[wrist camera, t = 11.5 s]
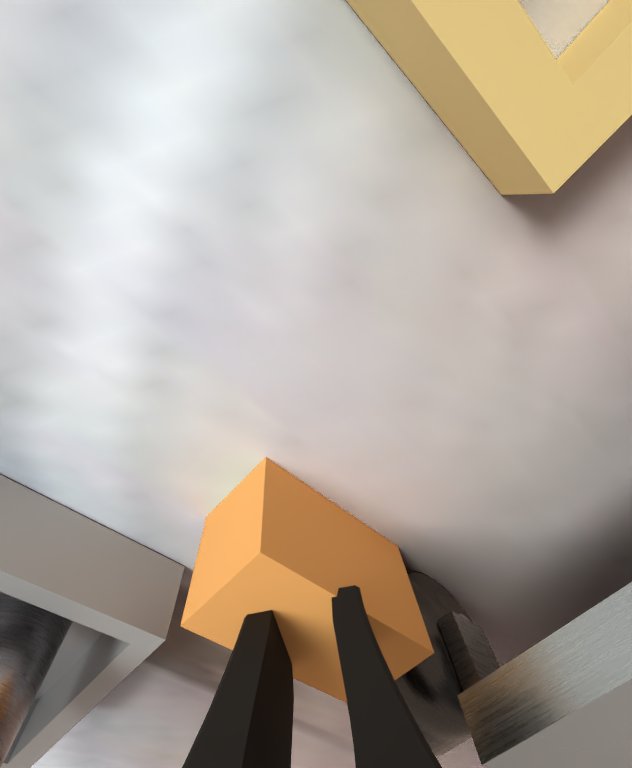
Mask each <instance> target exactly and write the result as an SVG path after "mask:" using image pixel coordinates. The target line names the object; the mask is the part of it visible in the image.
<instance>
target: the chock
mask: <svg viewBox="0 0 632 768" xmlns="http://www.w3.org/2000/svg"><path fill="white" fill-rule="evenodd" d="M353 585H356V586H357V587H359V588H360V591H361V595H362V600H363V604H364V607H365V610H366V614H367V617H368V619H369V622H370V625H371V628H372V630H373V633H374V635H375V638H376V640H377V643H378V645H379V647H380V650H381V652H382V654H383V656H384V659H385V661H386V663H387V665H388V667H389V669H390V671H391V674H392V676H393V678H394V680H396V679H398V678H399V677H401V676H402V675H403V674H405V673H406V672H408V671H409V670H410V669H412V668H413V667H415V666H416V665H418V664H419V663H420V662H422V661H423V660H425V659H426V658H428V657H429V656H430V655H432V654H433V653H434V650H433V647H432V644H431V641H430V639H429V636H428V633H427V630H426V627H425V624H424V621H423V618H422V615H421V612H420V609H419V606H418V604H417V601H416V598H415V595H414V592H413V589H412V586H411V583H410V580H409V577H408V574H407V571H406V569H405V566H404V563H403V560H402V557H401V554H400V551H399V548H398V546H397V545H395V544H394V543H392V542H391V541H389V540H388V539H386V538H385V537H383V536H382V535H380V534H379V533H377V532H376V531H374V530H373V529H372V528H370V527H369V526H367V525H366V524H364V523H363V522H361V521H360V520H358V519H357V518H355V517H354V516H352V515H351V514H349V513H348V512H346V511H345V510H343V509H342V508H341V507H339V506H338V505H336V504H335V503H333V502H332V501H330V500H329V499H327V498H326V497H324V496H323V495H321V494H320V493H318V492H317V491H315V490H314V489H312V488H311V487H310V486H308V485H307V484H305V483H304V482H302V481H301V480H299V479H298V478H296V477H295V476H293V475H292V474H290V473H289V472H287V471H286V470H284V469H283V468H281V467H280V466H279V465H277V464H276V463H274V462H273V461H271V460H270V459H268V458H267V457H265V458H264V459H263V460H262V461H261V462H260V463H259V464H258V465H257V466H256V467H255V468H254V469H253V470H252V472H251V473H250V474H249V475H248V476H247V477H246V478H245V479H244V480H243V481H242V482H241V483H240V484H239V485H238V486H237V487H236V488H235V489H234V490H233V491H232V492H231V493H230V494H229V495H228V496H227V497H226V498H225V499H224V500H223V501H222V502H221V503H220V504H219V505H218V506H217V507H216V508H215V509H214V510H213V511H212V512H211V513H210V514H209V515H208V516H207V517H206V521H205V525H204V529H203V533H202V537H201V542H200V546H199V550H198V554H197V558H196V563H195V567H194V571H193V575H192V579H191V583H190V588H189V592H188V596H187V600H186V604H185V609H184V613H183V617H182V621H181V625H180V626H181V627H183V628H185V629H187V630H189V631H192V632H194V633H196V634H198V635H200V636H203V637H205V638H207V639H209V640H211V641H213V642H216V643H218V644H220V645H222V646H224V647H227V648H229V649H231V650H233V649H234V646H235V643H236V640H237V638H238V635H239V632H240V629H241V626H242V623H243V620H244V618H245V617H246V616H247V614H253V613H258V612H263V611H268V610H272V611H273V614H274V616H275V619H276V622H277V624H278V627H279V630H280V632H281V635H282V638H283V641H284V643H285V646H286V649H287V651H288V654H289V657H290V659H291V662H292V669H293V678H294V679H296V680H298V681H301V682H303V683H305V684H307V685H309V686H311V687H314V688H316V689H318V690H320V691H322V692H325V693H327V694H329V695H331V696H333V697H335V698H338V699H340V700H342V701H344V702H346V703H347V699H346V693H345V687H344V682H343V676H342V670H341V665H340V659H339V654H338V648H337V642H336V637H335V631H334V625H333V616H332V597H336V596H337V593H338V588H342V587H348V586H353Z"/></svg>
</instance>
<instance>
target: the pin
mask: <svg viewBox="0 0 632 768" xmlns="http://www.w3.org/2000/svg"><path fill="white" fill-rule="evenodd" d="M72 622H73V621H72V620H70V619H67V618H65V617H62V616H60V615H57V614H55V613H52V612H50V611H47V610H45V609H42V608H40V607H37V606H35V605H32V604H30V603H27V602H25V601H22V600H20V599H17V598H15V597H13V596H10V595H8V594H5V593H3V592H0V768H1V766H2V764H3V762H4V760H5V758H6V756H7V754H8V752H9V750H10V748H11V746H12V744H13V741H14V739H15V737H16V735H17V733H18V731H19V729H20V727H21V725H22V723H23V721H24V719H25V717H26V715H27V713H28V711H29V709H30V707H31V705H32V703H33V701H34V699H35V697H36V695H37V693H38V691H39V689H40V687H41V685H42V683H43V681H44V679H45V677H46V675H47V673H48V671H49V669H50V667H51V665H52V663H53V661H54V659H55V657H56V655H57V653H58V650H59V648H60V646H61V644H62V642H63V640H64V638H65V636H66V634H67V632H68V630H69V628H70V626H71V624H72Z"/></svg>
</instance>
